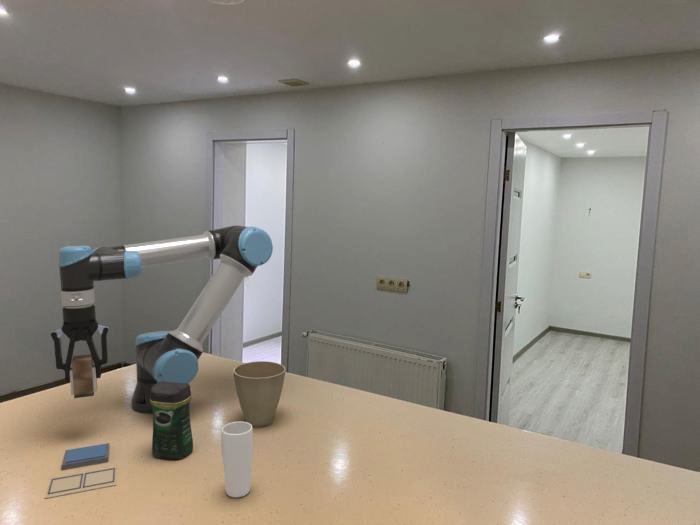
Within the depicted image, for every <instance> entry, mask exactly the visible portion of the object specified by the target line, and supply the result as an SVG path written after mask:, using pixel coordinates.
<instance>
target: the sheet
mask: <svg viewBox="0 0 700 525" xmlns="http://www.w3.org/2000/svg"><path fill="white" fill-rule="evenodd" d="M117 474H118V466H117V465H113V466H107V467H102V468H95V469H89V470H84V471H79V472H78V471H77V472H72V473H67V474H62V475H60V474H59V475H55V476H51V477H49V481H48V484H47V489H46V491H45V492H46V493H45V497H44V500H47V499H50V498H51V499H52V498H57V497H63V496H67V495H72V494H73V495H74V494H77V493H83V492H84V493H85V492H88V491H89V492H90V491H93V490H94V491H95V490H99V489H104V488H109V487H110V488H111V487H115V486H117V476H118V475H117Z"/></svg>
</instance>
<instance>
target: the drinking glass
mask: <svg viewBox="0 0 700 525" xmlns="http://www.w3.org/2000/svg"><path fill="white" fill-rule="evenodd" d="M253 433H254V432H253V426H252V425H251V424H250V423H247V422H246V421H232V422H229V423H226V424H225V425H223V426H222V428H221V440H220V441H221V453H222V454H221V455H222V463H223V473H224V481H225V493H226V494H227V496H229V497H230V498H242V497H244V496H247V495H248V494H249V492H250V490H251V476H252V475H251V472H252V462H253V450H254V434H253Z"/></svg>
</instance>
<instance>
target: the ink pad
mask: <svg viewBox="0 0 700 525" xmlns="http://www.w3.org/2000/svg"><path fill="white" fill-rule="evenodd" d="M110 448H111V447H110V443H109V442H108V443H107V442H106V443H101V444H97V445H89V446H84V447H77V448H70V449H66V450H65V452H64V455H63V459H62V463H61V470H62V471H63V470H70V469H75V468H76V469H77V468H81V467H88V466H92V465H93V466H94V465H99V464H105V463H109V460H110V458H109V457H110Z"/></svg>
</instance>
